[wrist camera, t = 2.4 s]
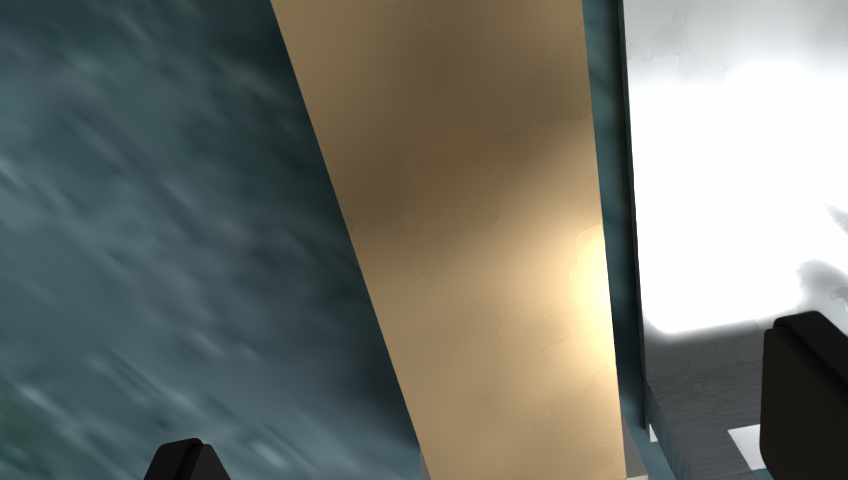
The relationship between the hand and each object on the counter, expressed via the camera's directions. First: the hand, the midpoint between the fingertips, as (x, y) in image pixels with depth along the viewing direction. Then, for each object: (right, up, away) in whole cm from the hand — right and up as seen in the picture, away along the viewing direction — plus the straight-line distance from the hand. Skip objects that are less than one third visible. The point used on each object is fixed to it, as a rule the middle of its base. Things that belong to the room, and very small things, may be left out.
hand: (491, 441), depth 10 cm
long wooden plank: (0, +3, +4) cm, 5 cm away
